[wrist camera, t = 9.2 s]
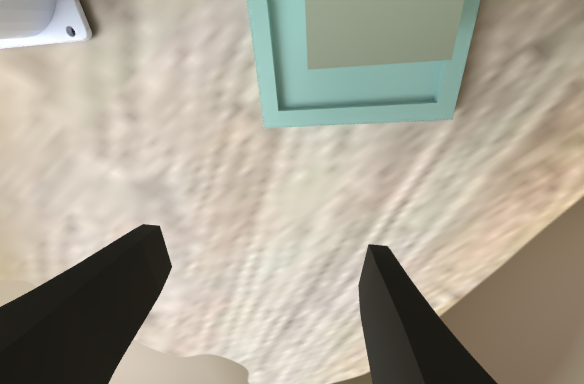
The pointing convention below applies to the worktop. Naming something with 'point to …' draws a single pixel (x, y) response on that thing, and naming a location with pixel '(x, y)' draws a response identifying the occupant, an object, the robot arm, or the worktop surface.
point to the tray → (347, 76)
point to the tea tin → (380, 31)
